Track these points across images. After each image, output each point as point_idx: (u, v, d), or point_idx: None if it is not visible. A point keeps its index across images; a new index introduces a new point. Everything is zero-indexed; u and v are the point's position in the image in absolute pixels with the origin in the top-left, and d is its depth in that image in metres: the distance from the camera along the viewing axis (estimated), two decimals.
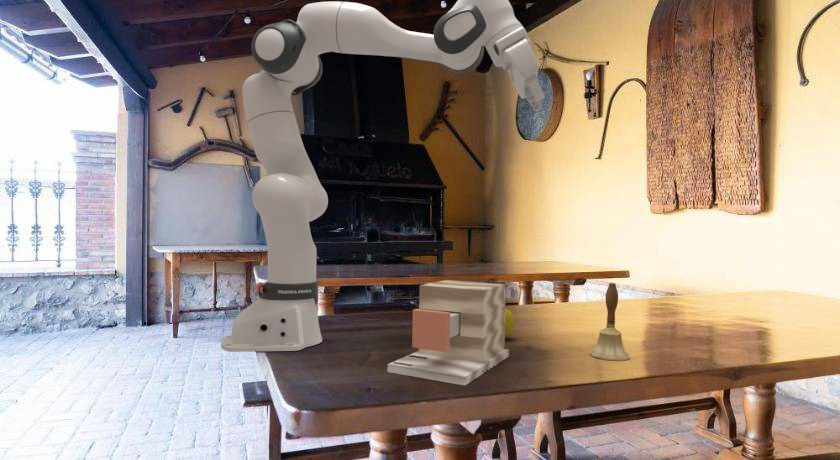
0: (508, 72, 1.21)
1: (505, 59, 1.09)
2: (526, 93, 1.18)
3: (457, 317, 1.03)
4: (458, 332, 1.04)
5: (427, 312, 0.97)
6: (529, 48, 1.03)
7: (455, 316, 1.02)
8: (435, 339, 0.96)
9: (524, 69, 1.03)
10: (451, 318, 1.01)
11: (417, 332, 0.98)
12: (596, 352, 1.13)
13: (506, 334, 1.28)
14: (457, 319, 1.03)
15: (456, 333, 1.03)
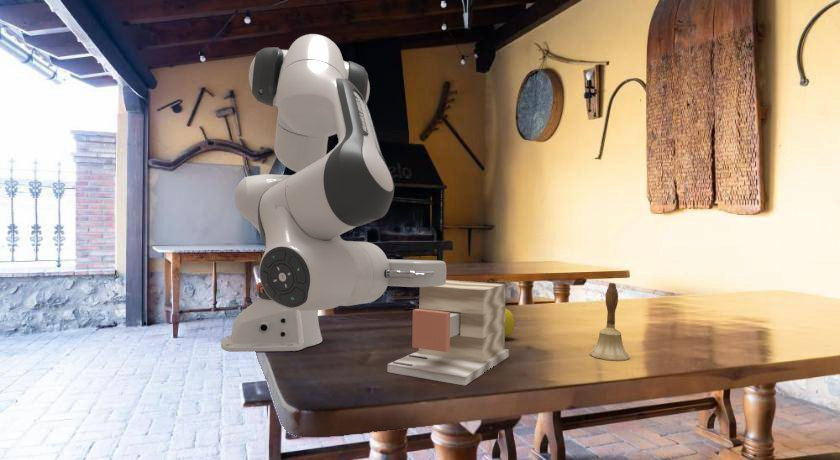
0: (410, 260, 0.73)
1: None
2: None
3: (457, 317, 1.03)
4: (458, 332, 1.04)
5: (427, 312, 0.97)
6: None
7: (455, 316, 1.02)
8: (435, 339, 0.96)
9: None
10: (451, 318, 1.01)
11: (417, 332, 0.98)
12: (596, 352, 1.13)
13: (506, 334, 1.28)
14: (457, 319, 1.03)
15: (456, 333, 1.03)
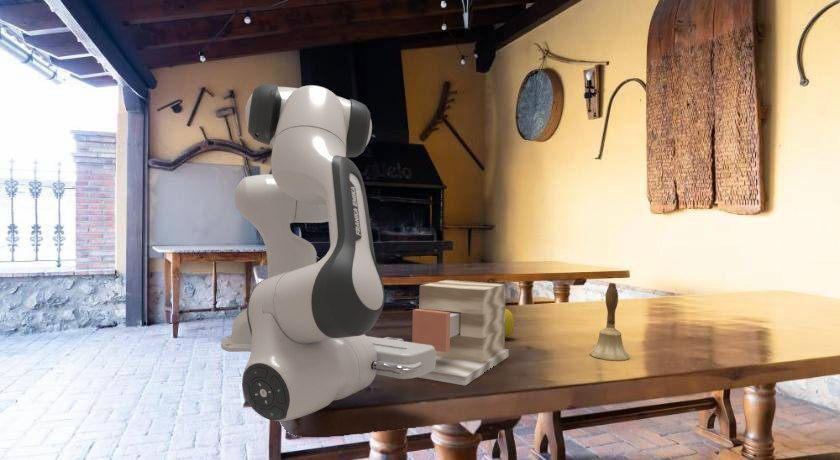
0: (398, 351, 0.73)
1: None
2: None
3: (457, 317, 1.03)
4: (458, 332, 1.04)
5: (427, 312, 0.97)
6: None
7: (455, 316, 1.02)
8: (435, 339, 0.96)
9: None
10: (451, 318, 1.01)
11: (417, 332, 0.98)
12: (596, 352, 1.13)
13: (506, 334, 1.28)
14: (457, 319, 1.03)
15: (456, 333, 1.03)
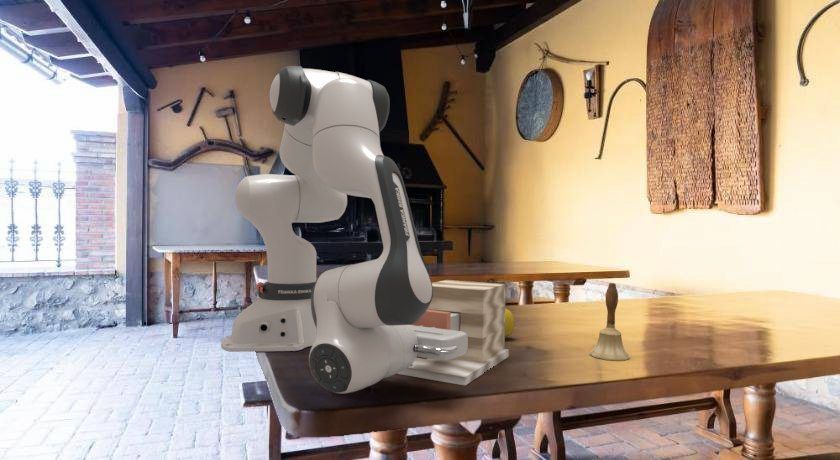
0: (436, 336, 0.83)
1: None
2: None
3: (457, 317, 1.03)
4: None
5: (427, 312, 0.97)
6: None
7: (455, 316, 1.02)
8: None
9: None
10: (451, 318, 1.01)
11: None
12: (596, 352, 1.13)
13: (506, 334, 1.28)
14: (457, 319, 1.03)
15: None
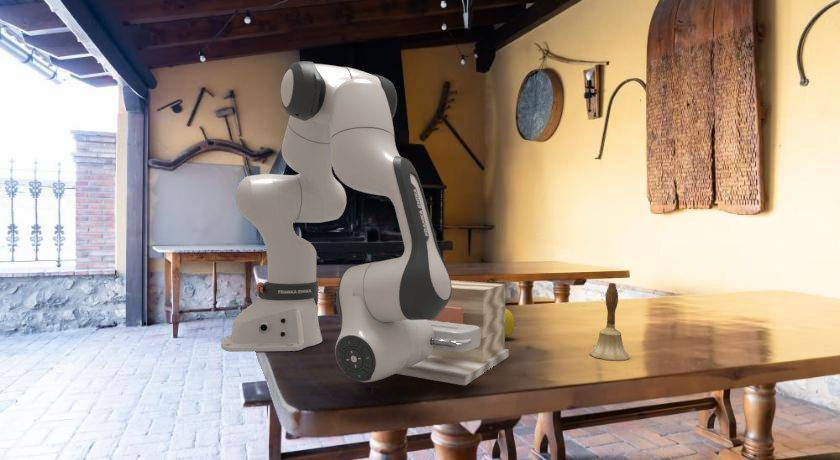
0: (451, 330, 0.89)
1: None
2: None
3: None
4: None
5: None
6: None
7: None
8: None
9: None
10: None
11: None
12: (596, 352, 1.13)
13: (506, 334, 1.28)
14: None
15: None
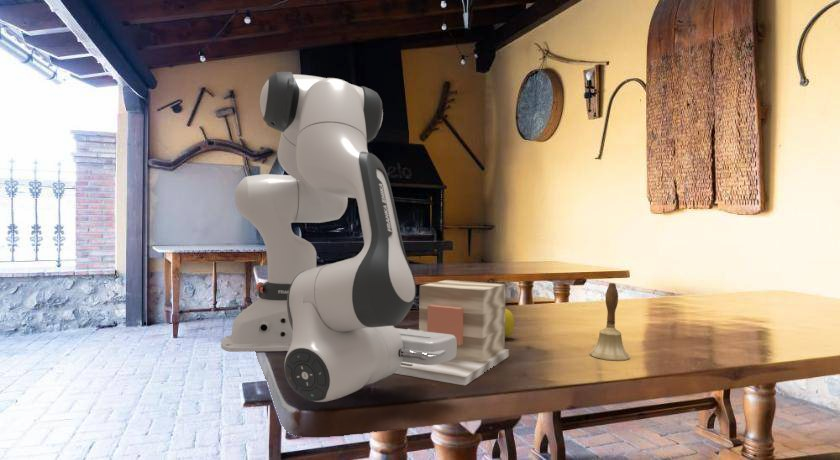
0: (423, 340, 0.79)
1: None
2: None
3: None
4: None
5: (441, 308, 1.02)
6: None
7: None
8: (449, 333, 1.01)
9: None
10: None
11: (432, 327, 1.03)
12: (596, 352, 1.13)
13: (506, 334, 1.28)
14: None
15: None
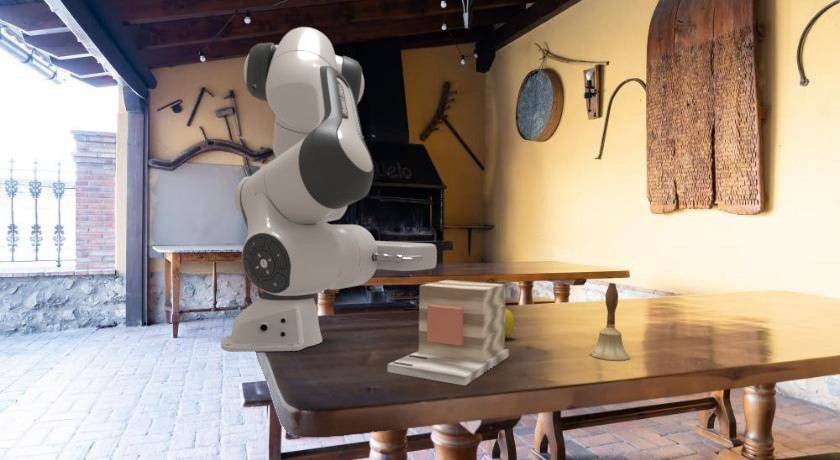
0: (399, 244, 0.73)
1: None
2: None
3: None
4: None
5: (441, 308, 1.02)
6: None
7: None
8: (449, 333, 1.01)
9: None
10: None
11: (432, 327, 1.03)
12: (596, 352, 1.13)
13: (506, 334, 1.28)
14: None
15: None
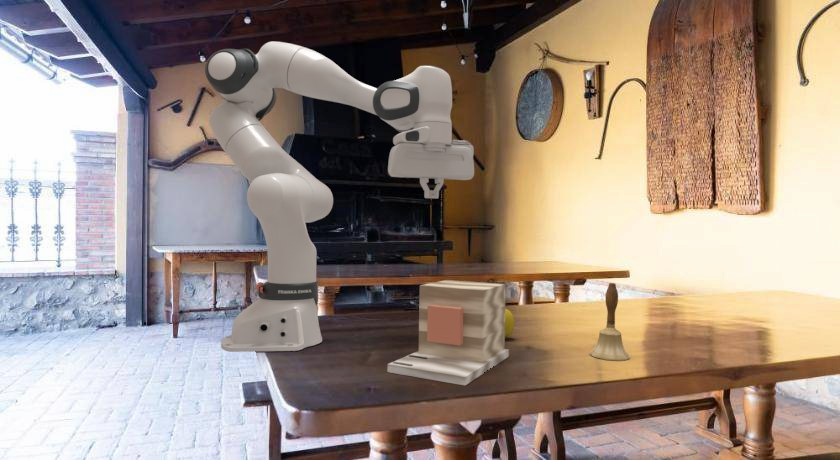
0: None
1: None
2: None
3: None
4: None
5: (441, 308, 1.02)
6: (393, 155, 1.16)
7: None
8: (449, 333, 1.01)
9: (388, 171, 1.18)
10: None
11: (432, 327, 1.03)
12: (596, 352, 1.13)
13: (506, 334, 1.28)
14: None
15: None
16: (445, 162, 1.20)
